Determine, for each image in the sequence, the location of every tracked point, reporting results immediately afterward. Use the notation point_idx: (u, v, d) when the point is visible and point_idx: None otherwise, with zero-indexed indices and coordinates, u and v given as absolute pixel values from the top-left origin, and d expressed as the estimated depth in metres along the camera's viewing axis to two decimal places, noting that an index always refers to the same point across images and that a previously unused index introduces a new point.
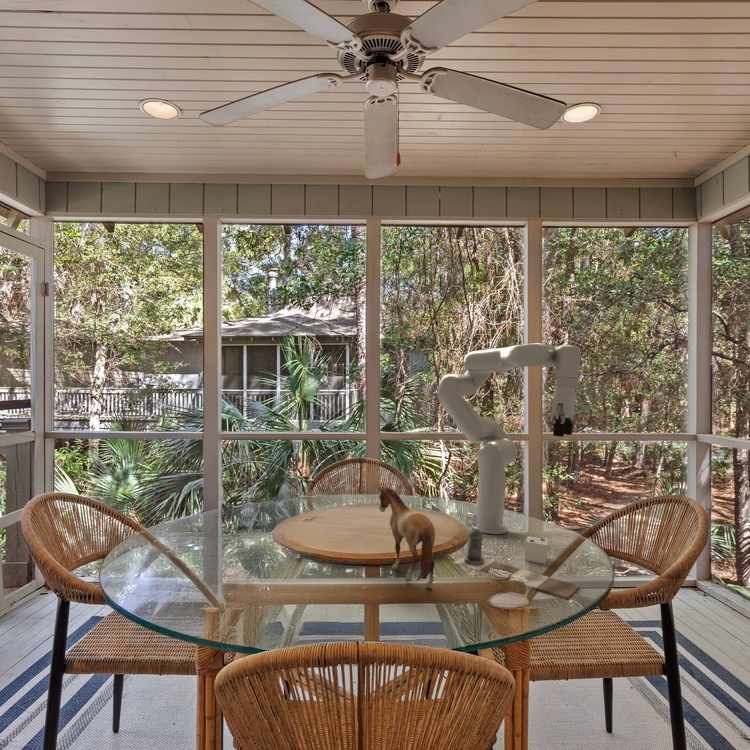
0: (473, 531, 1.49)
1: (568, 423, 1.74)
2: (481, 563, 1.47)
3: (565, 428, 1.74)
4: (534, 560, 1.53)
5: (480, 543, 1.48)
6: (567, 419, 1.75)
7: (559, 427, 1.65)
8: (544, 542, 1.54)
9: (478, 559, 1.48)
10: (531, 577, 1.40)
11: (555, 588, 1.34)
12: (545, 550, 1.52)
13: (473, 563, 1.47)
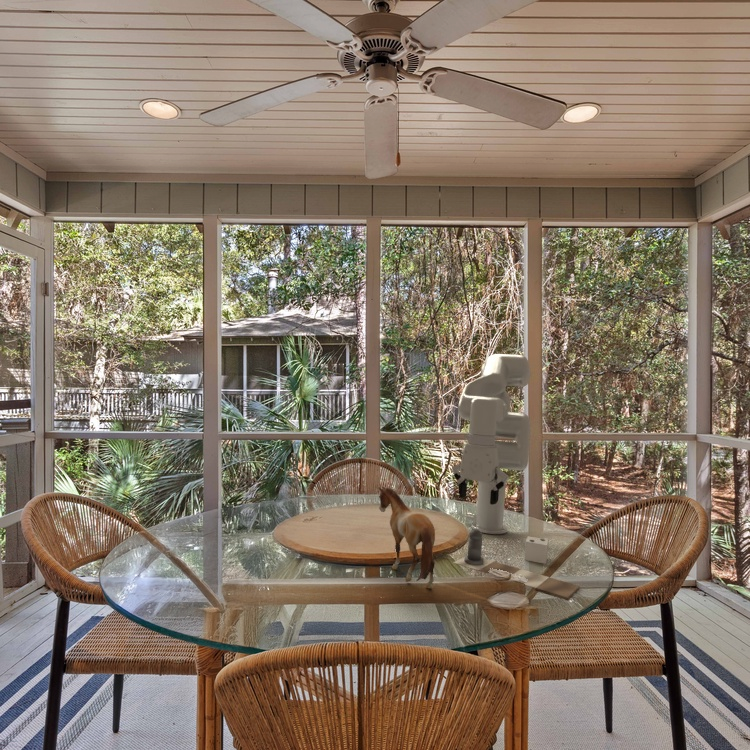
0: (473, 531, 1.49)
1: (465, 484, 1.52)
2: (481, 563, 1.47)
3: (463, 491, 1.51)
4: (534, 560, 1.53)
5: (480, 543, 1.48)
6: None
7: (498, 494, 1.46)
8: (544, 542, 1.54)
9: (478, 559, 1.48)
10: (531, 577, 1.40)
11: (555, 588, 1.34)
12: (545, 550, 1.52)
13: (473, 563, 1.47)
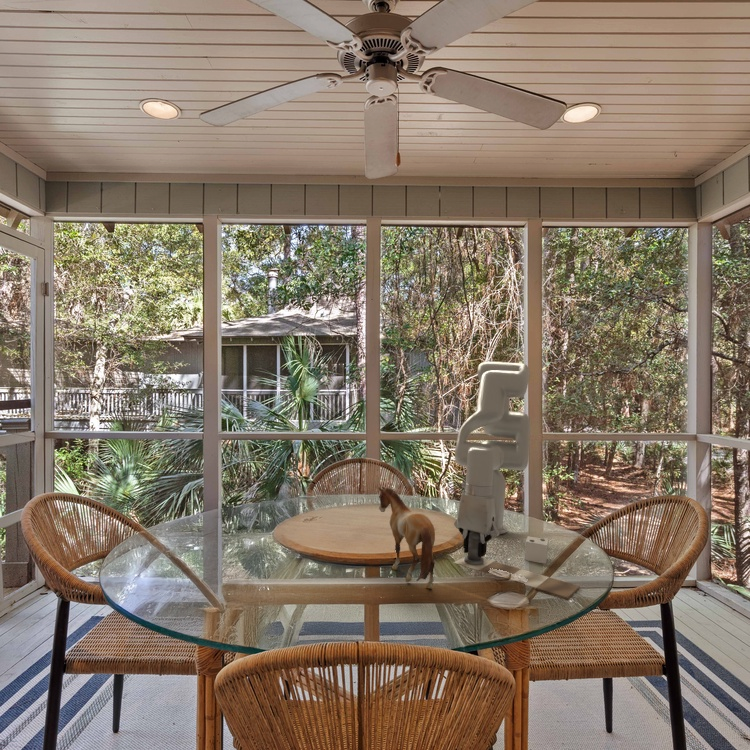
0: (473, 531, 1.49)
1: None
2: (481, 563, 1.47)
3: None
4: (534, 560, 1.53)
5: None
6: None
7: (485, 546, 1.48)
8: (544, 542, 1.54)
9: (478, 559, 1.48)
10: (531, 577, 1.40)
11: (555, 588, 1.34)
12: (545, 550, 1.52)
13: (473, 563, 1.47)
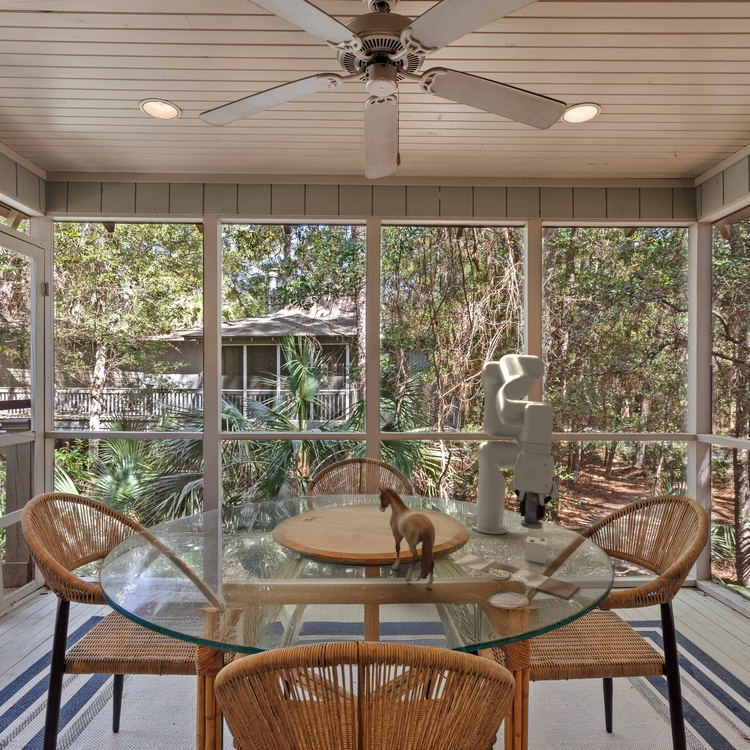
0: (531, 493, 1.39)
1: None
2: (540, 527, 1.38)
3: None
4: (534, 560, 1.53)
5: None
6: None
7: (544, 508, 1.38)
8: (544, 542, 1.54)
9: (536, 522, 1.38)
10: (531, 577, 1.40)
11: (555, 588, 1.34)
12: (545, 550, 1.52)
13: (531, 526, 1.37)
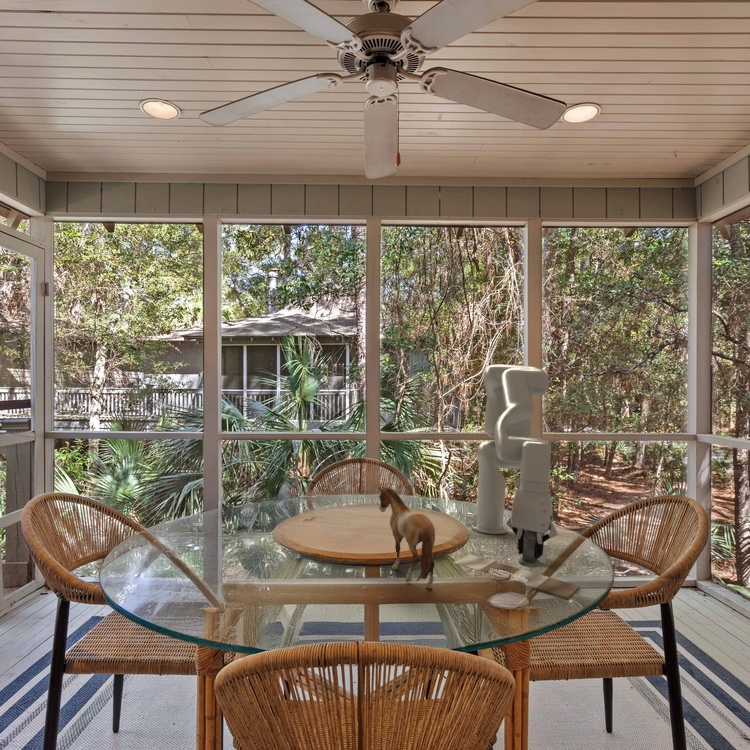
0: (528, 531, 1.39)
1: None
2: (538, 565, 1.37)
3: (522, 546, 1.40)
4: None
5: None
6: None
7: (542, 547, 1.38)
8: (544, 542, 1.54)
9: (534, 561, 1.38)
10: (531, 577, 1.40)
11: (555, 588, 1.34)
12: (545, 550, 1.52)
13: (529, 565, 1.37)
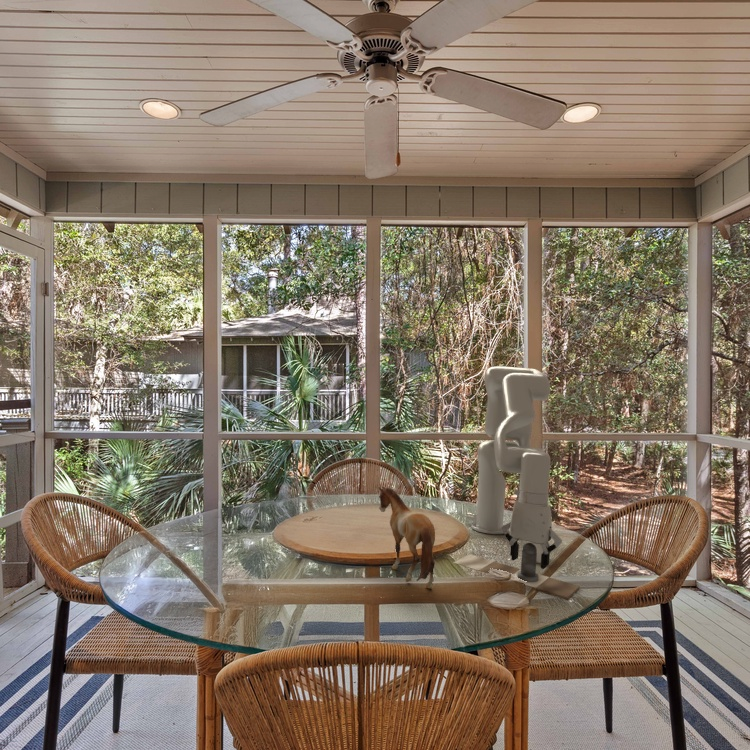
0: (527, 545, 1.39)
1: (517, 545, 1.42)
2: (536, 579, 1.38)
3: (515, 552, 1.42)
4: None
5: (535, 558, 1.38)
6: None
7: (548, 557, 1.37)
8: None
9: (533, 575, 1.38)
10: None
11: (555, 588, 1.34)
12: None
13: (528, 579, 1.37)
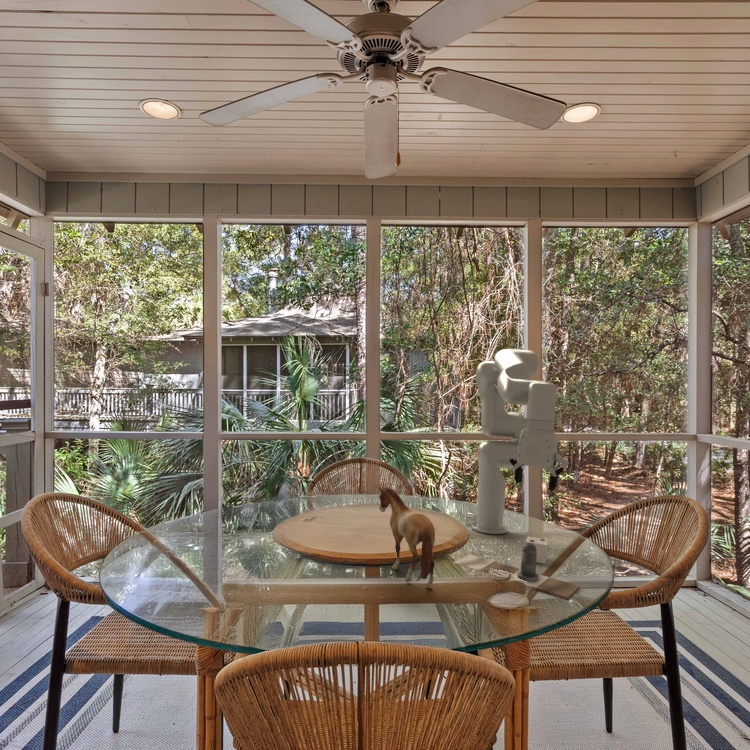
0: (527, 545, 1.39)
1: (521, 470, 1.49)
2: (536, 579, 1.38)
3: (519, 476, 1.49)
4: None
5: (535, 558, 1.38)
6: None
7: (556, 480, 1.43)
8: (544, 542, 1.54)
9: (533, 575, 1.38)
10: None
11: (555, 588, 1.34)
12: (545, 550, 1.52)
13: (528, 579, 1.37)
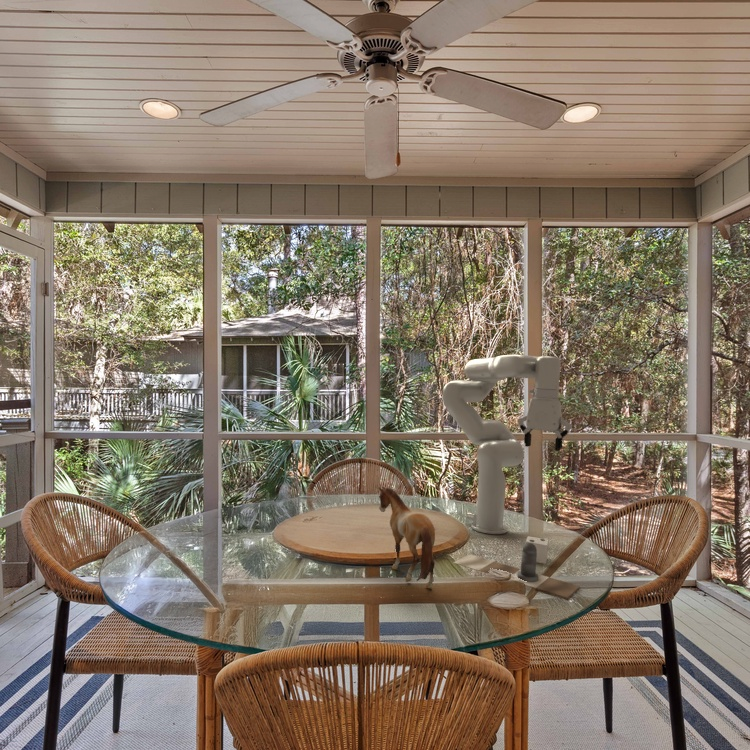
0: (527, 545, 1.39)
1: (530, 434, 1.70)
2: (536, 579, 1.38)
3: (528, 440, 1.69)
4: None
5: (535, 558, 1.38)
6: None
7: (561, 441, 1.64)
8: (544, 542, 1.54)
9: (533, 575, 1.38)
10: None
11: (555, 588, 1.34)
12: (545, 550, 1.52)
13: (528, 579, 1.37)
